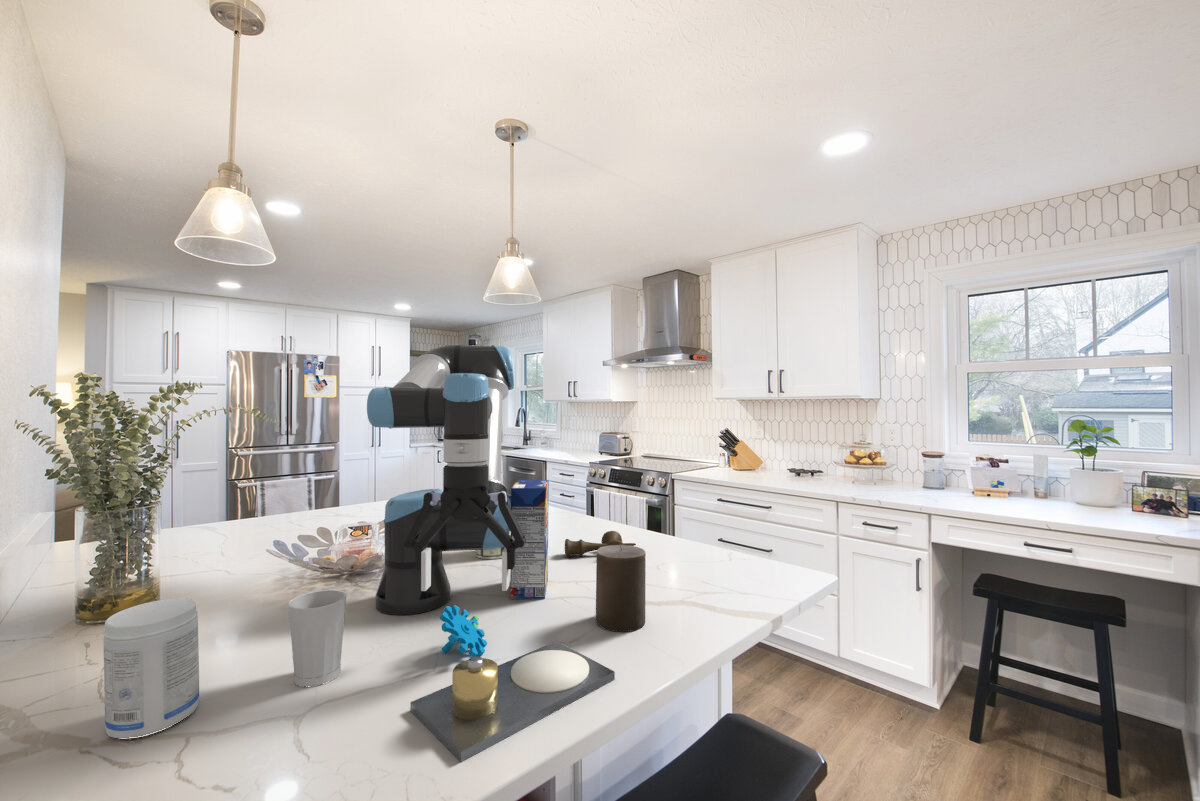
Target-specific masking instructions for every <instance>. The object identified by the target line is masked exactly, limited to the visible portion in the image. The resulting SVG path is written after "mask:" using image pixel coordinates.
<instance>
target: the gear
mask: <svg viewBox="0 0 1200 801" xmlns="http://www.w3.org/2000/svg"><path fill="white" fill-rule="evenodd" d="M460 610H461V609H460V607H459V606H458V605H455V604H454V605H453V606H449V605H448V606H445V608H443V609H442V612H443V613H441V615H440V616H439V619H440V620H441V621H442V622H443V623H442V624H441V630H442V631H443V632H444V633H449V634H450V635H449V636H448V637H447V640H448V641H447V642H446V644H444V646H443V647H441V652H442V653H443V654H446V653H448V651H449V650H450V649H451V648H452V647H453V646H454V645H455V644H456V643H460V645H459V646H458V647H457V649H458V651H459V652H460V653H461V654H465V653H466V652H467V650H468V648H469V651H468V656H469V657H470V658H472V657H481V656H482V655H483V654H485V652H486V650H485V648H486V646H487V645H488V641H487V640H485V639H484V637H485V631H484V630H483V629H482V628H481V629H480V628H479V627H478V626H479V622H478V621H479V617H478V615H476V614H475V615H473V616H472V617H471V618H470V619H468V617H469V616H470V613H469V611H468V610H466V609H463V610H462V611H461V612H460ZM459 612H460V614H459Z"/></svg>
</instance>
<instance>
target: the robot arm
mask: <svg viewBox="0 0 1200 801" xmlns="http://www.w3.org/2000/svg"><path fill="white" fill-rule="evenodd" d="M514 388H515V379H514V368H513V360H512V355H511V351H510V349H509V348H508V347H507V346H503V345H502V346H501V345H494V344H492V345H468V344H467V345H464V344H462V345H461V344H460V345H459V344H458V345H456V344H448V345H443V346H439V347H436V348H435V347H434V348H433V349H430V350H428V351H426V352H424V353H421V354H420V355H418V356H417V357H416V358H415V359H414V360H413V361H412V363H411V365H410V369H409V371H408V372H407V373H406V374H405V375H404V376H403V377H402V378H401V379H400V380H398V382H397V383H396V384H395V385H394V386H393V387H391V386H390V387H388V386H384V387H374V388H372V389H371V390H370V391H369V393H368V396H367V399H366V400H367V401H366V414H367V421H368V422H369V424H370V425H371V426H372V427H374V428H384V429H385V428H387V429H391V430H392V429H407V428H411V429H412V428H413V429H415V428H416V429H417V428H443V441H442V442H443V444H442V445H443V448H442V449H443V462H444V463H446V464H445V465H444V466H443V468H442V471H443V472H442V475H443V476H442V481H443V482H442V484H443V485H442V487H443V490H442V489H440V488H427V489H421V490H420V489H419V490H414V491H408V492H405V493H402V494H401V493H400V494H398V495H395V496H393V497H391V498H389V499H388V500H387V502H386V504H385V506H384V507H385V508H384V510H385V511H384V519H383V524H384V568H383V572H382V574H381V577H380V578H381V579H380V581H379V584H378V587H377V590H376V593H375V609H376V610H377V611H379V612H381V613H383V614H388V615H396V616H402V615H403V616H404V615H414V614H421V613H425V612H429V611H432V610H435V609H438V608H440V607H442V606H444V605H445V604H447V603H448V602H449V601H450V600H451V597H452V596H451V591H452V589H451V583H450V581H449V577H448V575H447V573H446V569H445V566H444V563H443V552H455V551H456V552H458V551H459V552H460V551H476V550H488V549H496V548H502V547H505V548H504V550H503V551H502V558H501V590H502V591H501V592H506V591H508V589H509V587H510V570H511V569H513V568H514V566H515V550H516V549H517V548H519V547H523V546H524V544H525V542H526V538H525V536H524V534H523V532H522V530H521V528H520V526H519V524H518V522H517V520H516V518H515V516H514V514H513V512H512V510H511V494H510V493H508V488H507V486H506V484H504V483H503V482H502V481H501V480H502V478H501V476H502V472H501V471H502V435H503V434H502V430H503V429H502V428H503V425H502V424H503V401H504V400H505V399H506V398H507V397H508V395H509V391H512V390H513V389H514ZM510 531H511V533H512V535H513V537H514V539H515V540H513V539H512V537H511V536H510V535H509V533H510Z"/></svg>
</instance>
